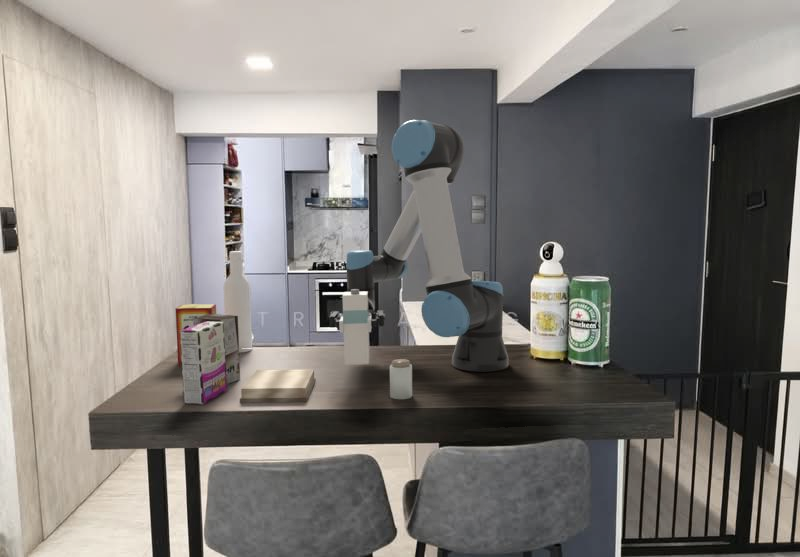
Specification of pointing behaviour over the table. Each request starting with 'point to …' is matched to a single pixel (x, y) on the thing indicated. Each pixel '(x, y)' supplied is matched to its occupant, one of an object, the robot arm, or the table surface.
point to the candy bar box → (203, 362)
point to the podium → (278, 386)
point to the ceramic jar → (400, 379)
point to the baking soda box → (190, 319)
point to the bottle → (239, 300)
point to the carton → (355, 327)
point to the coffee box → (227, 342)
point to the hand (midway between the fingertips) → (355, 326)
